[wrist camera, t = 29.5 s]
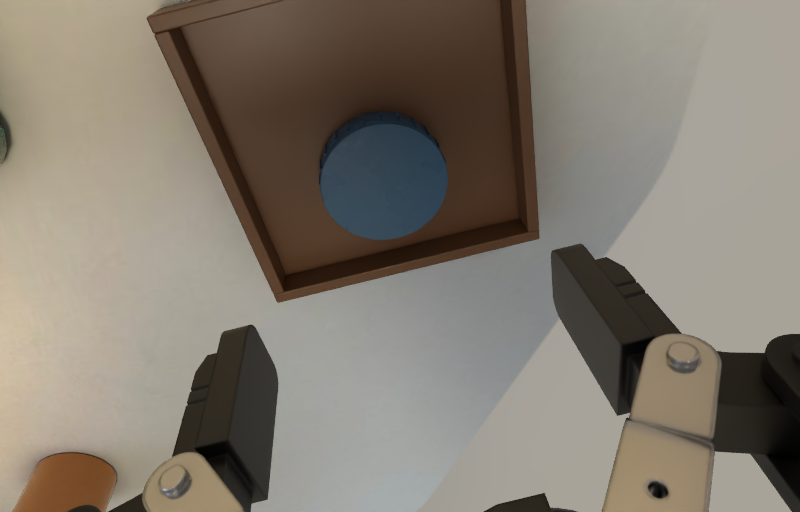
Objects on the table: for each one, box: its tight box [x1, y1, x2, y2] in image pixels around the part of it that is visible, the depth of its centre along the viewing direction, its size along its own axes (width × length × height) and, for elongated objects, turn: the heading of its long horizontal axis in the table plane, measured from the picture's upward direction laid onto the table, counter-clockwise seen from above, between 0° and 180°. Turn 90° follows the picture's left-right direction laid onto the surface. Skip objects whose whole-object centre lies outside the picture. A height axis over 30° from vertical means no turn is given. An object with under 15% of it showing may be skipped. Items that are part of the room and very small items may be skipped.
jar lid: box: [319, 110, 448, 240], centre depth 24 cm, size 6×6×2 cm
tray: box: [147, 0, 539, 303], centre depth 24 cm, size 14×14×2 cm
